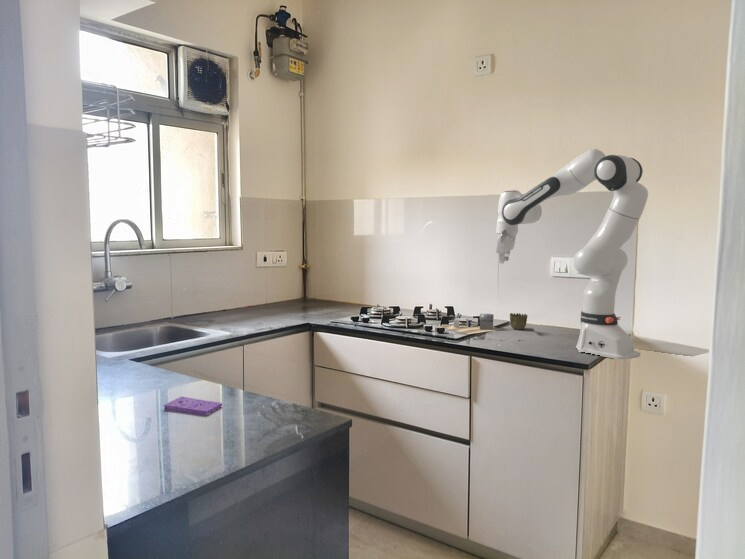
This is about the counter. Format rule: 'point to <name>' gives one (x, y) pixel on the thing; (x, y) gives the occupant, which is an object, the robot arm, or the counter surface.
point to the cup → (518, 321)
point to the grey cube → (486, 321)
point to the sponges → (192, 406)
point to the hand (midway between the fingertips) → (503, 261)
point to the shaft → (456, 323)
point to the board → (467, 329)
